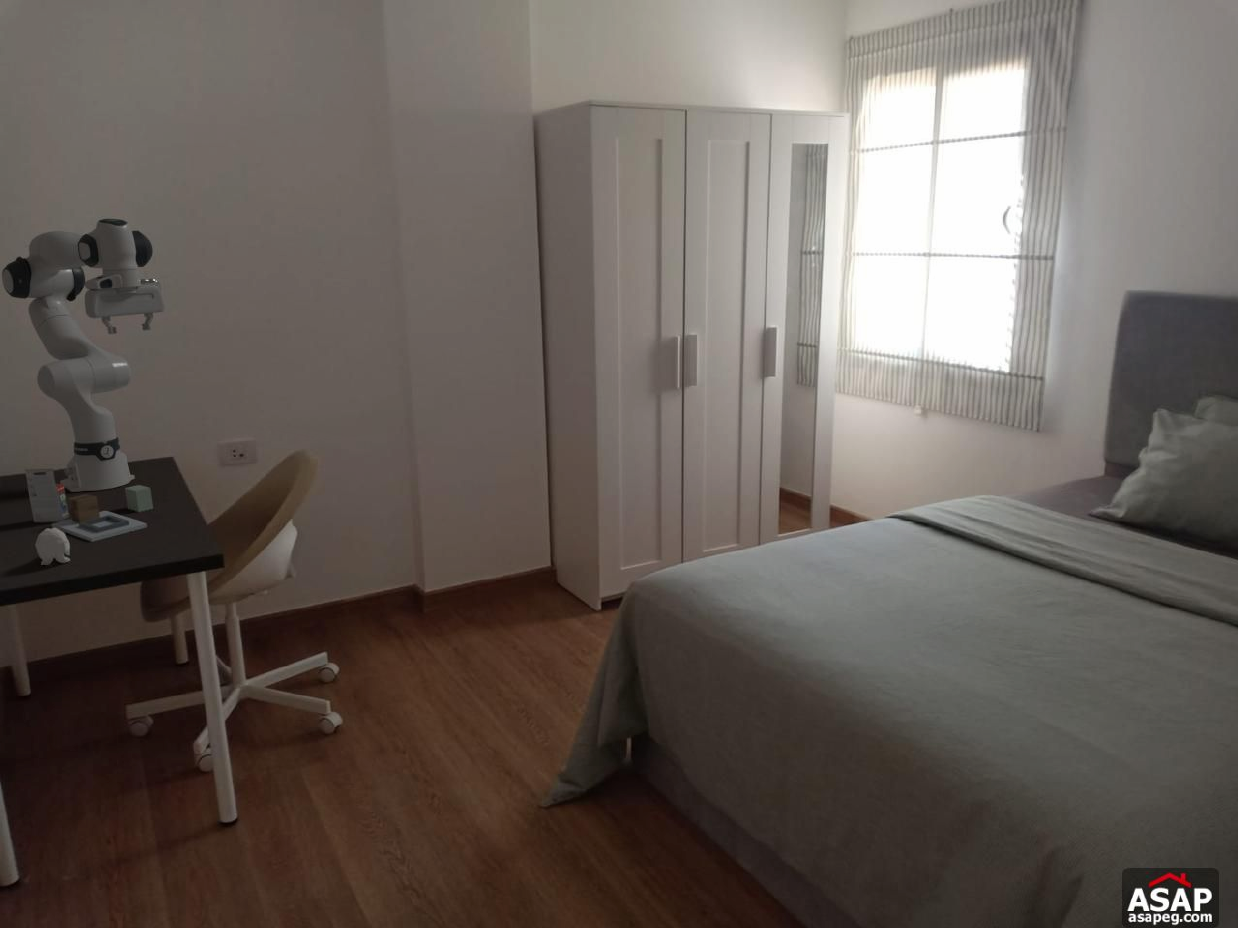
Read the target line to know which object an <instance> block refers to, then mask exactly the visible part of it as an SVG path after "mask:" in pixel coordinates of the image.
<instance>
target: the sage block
mask: <svg viewBox="0 0 1238 928" xmlns="http://www.w3.org/2000/svg"><path fill="white" fill-rule="evenodd" d="M124 490H125V497H126V498H125V499H126V503H127V509H128V510H130V509H131V511H133V510H134V512H137V513H142V512H145V510H146V511H149V509H150V510H153V509H154V505H153V499H152V498H153V497H152V491H151V488H150V487H148V486H144V485H141V484H137V485H133V486H129V487H125V488H124ZM141 511H142V512H141Z"/></svg>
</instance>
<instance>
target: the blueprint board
mask: <svg viewBox="0 0 1238 928" xmlns="http://www.w3.org/2000/svg"><path fill="white" fill-rule="evenodd" d="M67 500H68V501H67V502H68V507H69V513H70V517H71V518H69V519H67V520H65V521H61V522H52V523H51V529H52V528H57V529H59V530H60V531H62V532H64V533H65V534H69V535H72V536H74V537H77V538H80V539H83V540H84V541H85V540H87V541H89V542H92V543H93V542H96V541H100V540H104V539H108V538H111V537H114V536H119V535H122V534H126V533H131V532H135V531H137V530H142V529H145V528H148V525H147V524H148V523H147V522H143V521H140V520H137V519H134V518H130V517H127V516H124V515H121V514H117V513H115V512H111V511H108V510H102V511H100V509H99V503H98V498H97V496H95V495H92V494H90V493H86V494H81V495H77V496H74V497H69V498H67ZM130 531H131V532H130Z"/></svg>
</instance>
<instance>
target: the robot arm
mask: <svg viewBox="0 0 1238 928" xmlns="http://www.w3.org/2000/svg"><path fill="white" fill-rule="evenodd" d="M28 251H29V252H28V253H29V255H28V256H27V257H25V258H24V257H22V256H17V257H16V259H15V260H14V261H11V262H10V263H8V264H6V266H5V267H4V268H3V270H2V272H1V280H2V285H3V288H4V290H5V291H6V293H7V294H8V295H9V296H10V297H12V298H15V299H25V300H26V299H27V298H28V299H33V300H32V301H31V302H30V304H29V305H28V314H29V317H30V318H29V319H30V321H31V323H32V326H33V328H34V330H35V332H36V334H37V336H38V337H39V339H40V340H41V342H42V344H43V346H44V348H45V350H46V352H47V353H48V354H49V355H50V356H51V357H53V358H54V359H56V360H57V361H56V360H55V361H52V362H49V363H46V364H44V365H42V366H41V367H40V368H39V370H38V373H37V378H36V379H37V385H38V387H39V389H40V391H41V392H42V393H43V394H44V395H46V396H47V397H49V398H51V399H53V400H55V401H56V402H57V403H59V404H60V405H61V406H62V407H63V408H64V410H65V411H66V413H67V414H68V416H69V419H70V422H71V425H72V431H73V435H74V442H73V454H74V455H73V456H72V458H71V459H70V460H69V461H68V463H67V465H66V467H64V469H63V473H64V475H65V476H67V478H64V479H62V480H60V482H59V483H63V484H64V489H66V490H68V491H69V492H71V493H77V492H78V493H79V492H89V491H90V492H91V491H92V492H93V491H103V490H110V489H114V488H118V487H122V486H125V485H127V484H129V483H130V482H131V481H132V480H134V479H136V478H135V475H134V474H131V473H130V469H129V468H130V467H129V465H128V459H127V456H126V454H125V453H124V452H122V451H121V450H120V449H121V444H120V442H121V441H120V440H119V437H118V436H117V432H116V431H117V430H116V425H115V418H114V415H113V413H112V411H111V410H110V409H108V408H107V407H104V406H101V405H99V404H96V403H94V402H93V401H92V397H91V395H92V394H93V395H95V394H102V393H106V392H113V391H116V390H119V389H121V388H124V387H127V386H128V385H129V384H130V381H131V379H132V374H133V373H132V368H131V365H130V364H129V362H128V360H126V359H125V357H123V356H122V355H118V354H115V353H112V352H109V351H107V350H105V349H103V348H101V347H100V346H98V345H97V344H95V343H94V342H93V341H92V340H90V339H89V338H88V337H87V335H86V334H85V333H84V331H83V330H82V328H81V327H80V325H79V323H78V322H77V320H76V319H75V318H74V316H73V313H71V311H70V310H69V308H68V305H67V301H68V302H73V301H75V300H76V299H77V296H79V295H80V294H81V292H82V291H83V289H84V288H85V289H86V290H87V291H85V294H84V307H85V308H84V309H85V314H86V316H87V317H89V318H90V319H99V318H100V319H101V322H102V323H103V325H104V326H105V327H106V329H107V333H108V334H109V335H117V327H116V326H113V325H112V324H111V323H110V322H111V321H112V320H111V318H113V317H123V316H133V315H134V316H135V315H143V316H144V318H145V321H144V323H141V327H142V331H151V329H152V328H151V327H152V326H151V323H152V321H153V318H154V314H157V313H163V312H164V311H165V309H166V305H165V300H164V298H163V297H164V296H163V294H162V284H161V282H159V281H158V280H156V279H155V278H149V279H147V278H145V279H141V277H140V276H141V275H140V271H139V268H144V267H145V266H146V265H147V264H149V262H150V260H151V259H152V257H153V252H154V251H153V245H152V242H151V241H150V239H149V238H148V237H147V236H146V235H145V234H143V232H141V231H139V230H132V228H131V225H130V224H129V222H128V221H126V220H123V219H120V218H117V219H116V218H102V219H99V220H97V222H96V227H95V229H93V230H91V231H90V232H88V233H85V234H81V233H76V232H75V233H73V232H70V231H61V230H57V231H55V230H54V231H47V232H43V233H41V234H38V235H37V236H35V237H34V238H32V239H31V241H30V243H29V245H28ZM85 266H87V267H89V268H93V269H101V271H102V275H97V276H96V277H93V278H91V279H88V280H86V276H85V275H86V274H85V272H84V269H83V267H85Z"/></svg>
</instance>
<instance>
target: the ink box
mask: <svg viewBox="0 0 1238 928" xmlns="http://www.w3.org/2000/svg"><path fill="white" fill-rule="evenodd" d="M39 472H41V473H45V474H35V473H39ZM25 477H26V484H27V491H28V496H29V502H30V506H31V511H32V512H31V513H32V518H33V522H34V523H57V522H61V521H65V520H69V519H71V518H70V517H71V516H70V510H69V508H68V507H69V505H68V501H67V500H68V499H67V496H66V495H67V494H66V488H65V487H64V484H63V483H60V482H59V483H56V477H55V470H54V468H39V469H32V468H31V469H25Z"/></svg>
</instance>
